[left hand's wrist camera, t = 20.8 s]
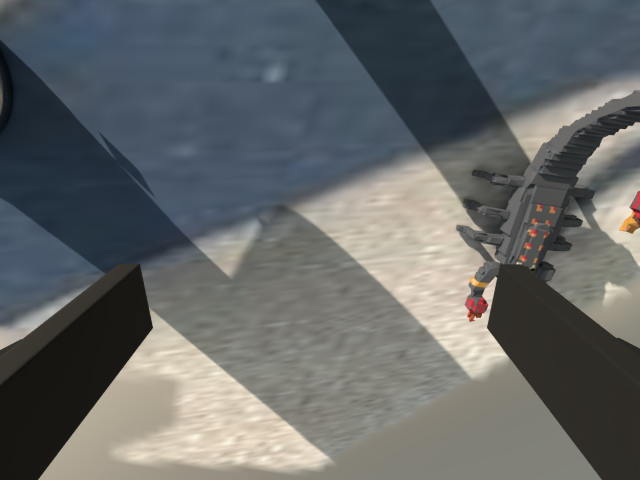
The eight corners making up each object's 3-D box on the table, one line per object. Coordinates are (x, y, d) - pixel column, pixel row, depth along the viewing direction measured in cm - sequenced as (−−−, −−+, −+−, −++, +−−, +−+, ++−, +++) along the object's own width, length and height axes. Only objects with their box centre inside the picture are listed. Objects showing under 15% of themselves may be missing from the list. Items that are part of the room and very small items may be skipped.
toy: (619, 103, 37) (877, 100, 20) (530, 314, 46) (653, 435, 29) (499, 84, 36) (658, 64, 19) (433, 302, 46) (501, 418, 29)
